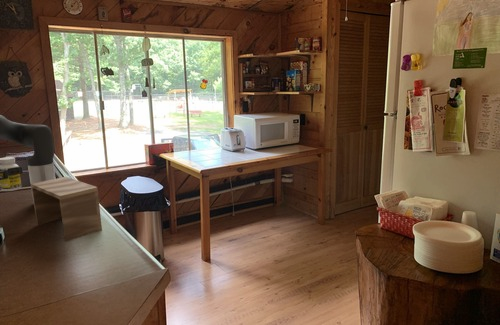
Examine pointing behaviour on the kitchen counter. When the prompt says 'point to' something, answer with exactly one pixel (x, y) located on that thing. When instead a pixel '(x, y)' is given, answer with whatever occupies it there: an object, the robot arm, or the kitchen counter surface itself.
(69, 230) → the cubby
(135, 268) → the kitchen counter surface
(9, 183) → the supplement bottle
